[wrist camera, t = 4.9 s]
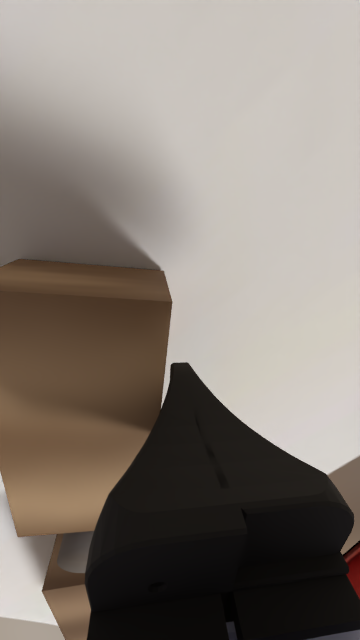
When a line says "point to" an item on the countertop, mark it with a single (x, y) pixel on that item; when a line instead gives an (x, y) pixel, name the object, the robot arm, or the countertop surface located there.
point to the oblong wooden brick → (67, 597)
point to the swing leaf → (76, 390)
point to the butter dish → (354, 566)
